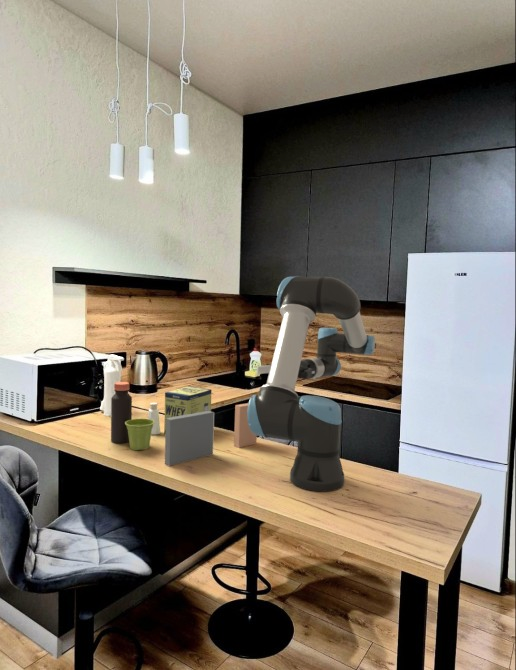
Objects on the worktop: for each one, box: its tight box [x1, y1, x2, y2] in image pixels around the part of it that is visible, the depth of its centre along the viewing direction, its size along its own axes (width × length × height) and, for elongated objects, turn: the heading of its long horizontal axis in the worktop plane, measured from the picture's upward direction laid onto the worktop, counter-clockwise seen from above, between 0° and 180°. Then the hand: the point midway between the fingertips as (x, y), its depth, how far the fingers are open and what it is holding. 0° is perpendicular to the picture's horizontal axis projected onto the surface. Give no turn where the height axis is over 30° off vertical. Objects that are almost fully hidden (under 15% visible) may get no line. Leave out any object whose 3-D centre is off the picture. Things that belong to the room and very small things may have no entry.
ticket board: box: [164, 410, 215, 467], centre depth 148 cm, size 16×3×14 cm, turn 133°
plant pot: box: [125, 418, 154, 451], centre depth 158 cm, size 9×9×9 cm
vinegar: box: [110, 381, 133, 444], centre depth 164 cm, size 7×7×20 cm
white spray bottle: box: [99, 354, 125, 417], centre depth 198 cm, size 7×12×25 cm, turn 56°
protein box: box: [163, 385, 212, 434], centre depth 178 cm, size 10×16×16 cm
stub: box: [233, 402, 258, 449], centre depth 164 cm, size 8×2×14 cm, turn 133°
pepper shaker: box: [147, 402, 161, 436], centre depth 175 cm, size 5×5×11 cm
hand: (270, 372), depth 170 cm, fingers open, 13 cm apart
